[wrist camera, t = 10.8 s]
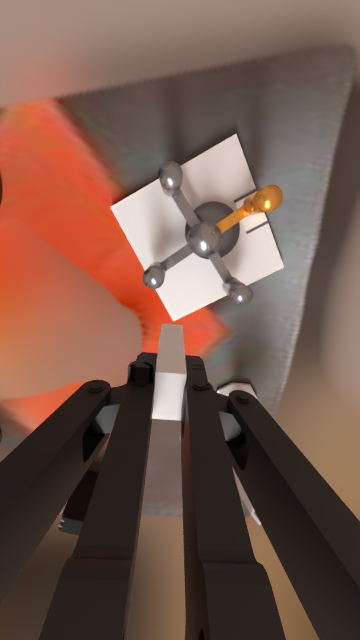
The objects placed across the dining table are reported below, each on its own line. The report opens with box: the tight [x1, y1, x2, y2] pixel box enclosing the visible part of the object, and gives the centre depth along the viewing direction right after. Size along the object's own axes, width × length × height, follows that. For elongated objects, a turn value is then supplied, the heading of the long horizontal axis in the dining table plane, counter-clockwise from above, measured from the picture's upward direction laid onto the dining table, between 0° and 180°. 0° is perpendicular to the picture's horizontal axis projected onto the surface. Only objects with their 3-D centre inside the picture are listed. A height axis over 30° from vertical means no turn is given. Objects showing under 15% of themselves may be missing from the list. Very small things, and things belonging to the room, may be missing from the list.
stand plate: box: [110, 134, 284, 321], centre depth 38 cm, size 20×20×2 cm
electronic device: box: [58, 470, 99, 535], centre depth 51 cm, size 4×10×10 cm, turn 68°
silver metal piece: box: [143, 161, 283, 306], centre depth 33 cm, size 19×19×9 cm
